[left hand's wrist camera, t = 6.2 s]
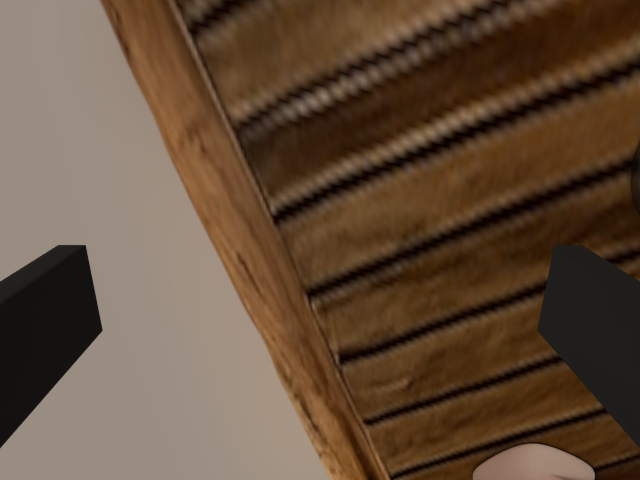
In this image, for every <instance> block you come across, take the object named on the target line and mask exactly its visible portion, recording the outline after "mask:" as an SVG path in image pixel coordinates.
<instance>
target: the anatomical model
mask: <svg viewBox="0 0 640 480" xmlns="http://www.w3.org/2000/svg"><path fill="white" fill-rule="evenodd" d="M594 478H595V473H594V471H593V469H592V468H591V467H590V466H589V465H588V464H587V463H585V462H584V461H582V460H580V459H578V458H576V457H575V456H573V455H570V454H568V453H566V452H563V451H561V450H559V449H556V448H553V447H550V446H546V445H542V444H523V445H519V446H516V447H513V448H510V449H508V450H505V451H503V452H501V453H499V454H497V455H495V456H493V457H492V458H490V459H488V460H487V461H485V462H484V463H482V464H481V465H479V466H478V467H477V468H476V469H475V471H474V473H473V480H594Z"/></svg>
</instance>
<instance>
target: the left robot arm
mask: <svg viewBox="0 0 640 480" xmlns="http://www.w3.org/2000/svg"><path fill="white" fill-rule="evenodd" d="M631 191H632V196H633V200H634V203H635V206H636V208H637V210H638V212H639V214H640V142H639V145H638V147H637V150H636V153H635V156H634V160H633V164H632V170H631ZM537 331H538V332H539V333H540V334H541V335H542V336H543V338H544V339H545V340H546V341H547V342H548V343H549V344H550V346H551V347H552V348H553V349H554V350H555V351H556V352H557V354H558V355H559V356H560V357H561V358H562V359H563V361H564V362H565V363H566V364H567V365H568V366H569V367H570V369H571V370H572V371H573V372H574V373H575V374H576V375H577V377H578V378H579V379H580V380H581V381H582V382H583V384H584V385H585V386H586V387H587V388H588V389H589V390H590V392H591V393H592V394H593V395H594V396H595V397H596V398H597V400H598V401H599V402H600V403H601V404H602V405H603V406H604V408H605V409H606V410H607V411H608V412H609V413H610V415H611V416H612V417H613V418H614V419H615V420H616V421H617V423H618V424H619V425H620V426H621V427H622V428H623V429H624V431H625V432H626V433H627V434H628V435H629V436H630V437H631V439H632V440H633V441H634V442H635V443H636V444H637V446H638V447H639V448H640V281H638V280H636V279H635V278H633V277H632V276H630V275H628V274H627V273H625V272H624V271H622V270H620V269H619V268H617V267H616V266H614V265H613V264H611V263H609V262H608V261H606V260H605V259H603V258H601V257H600V256H598V255H597V254H595V253H593V252H592V251H590V250H589V249H587V248H585V247H584V246H582V245H554V250H553V255H552V260H551V265H550V270H549V275H548V280H547V285H546V290H545V295H544V300H543V305H542V310H541V315H540V320H539V325H538V330H537ZM101 332H102V325H101V320H100V315H99V310H98V305H97V300H96V295H95V290H94V285H93V280H92V275H91V270H90V265H89V260H88V255H87V250H86V246H85V245H58V246H56V247H55V248H53V249H51V250H50V251H48V252H47V253H45V254H43V255H42V256H40V257H39V258H37V259H35V260H34V261H32V262H31V263H29V264H28V265H26V266H24V267H23V268H21V269H20V270H18V271H16V272H15V273H13V274H12V275H10V276H8V277H7V278H5V279H4V280H2V281H0V448H1V447H2V446H3V444H4V443H5V442H6V441H7V440H8V439H9V437H10V436H11V435H12V434H13V433H14V432H15V431H16V429H17V428H18V427H19V426H20V425H21V424H22V423H23V421H24V420H25V419H26V418H27V417H28V416H29V415H30V413H31V412H32V411H33V410H34V409H35V408H36V406H37V405H38V404H39V403H40V402H41V401H42V400H43V398H44V397H45V396H46V395H47V394H48V393H49V391H50V390H51V389H52V388H53V387H54V386H55V385H56V383H57V382H58V381H59V380H60V379H61V378H62V377H63V375H64V374H65V373H66V372H67V371H68V370H69V369H70V367H71V366H72V365H73V364H74V363H75V362H76V360H77V359H78V358H79V357H80V356H81V355H82V354H83V352H84V351H85V350H86V349H87V348H88V347H89V346H90V344H91V343H92V342H93V341H94V340H95V339H96V338H97V336H98V335H99V334H100V333H101Z"/></svg>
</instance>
